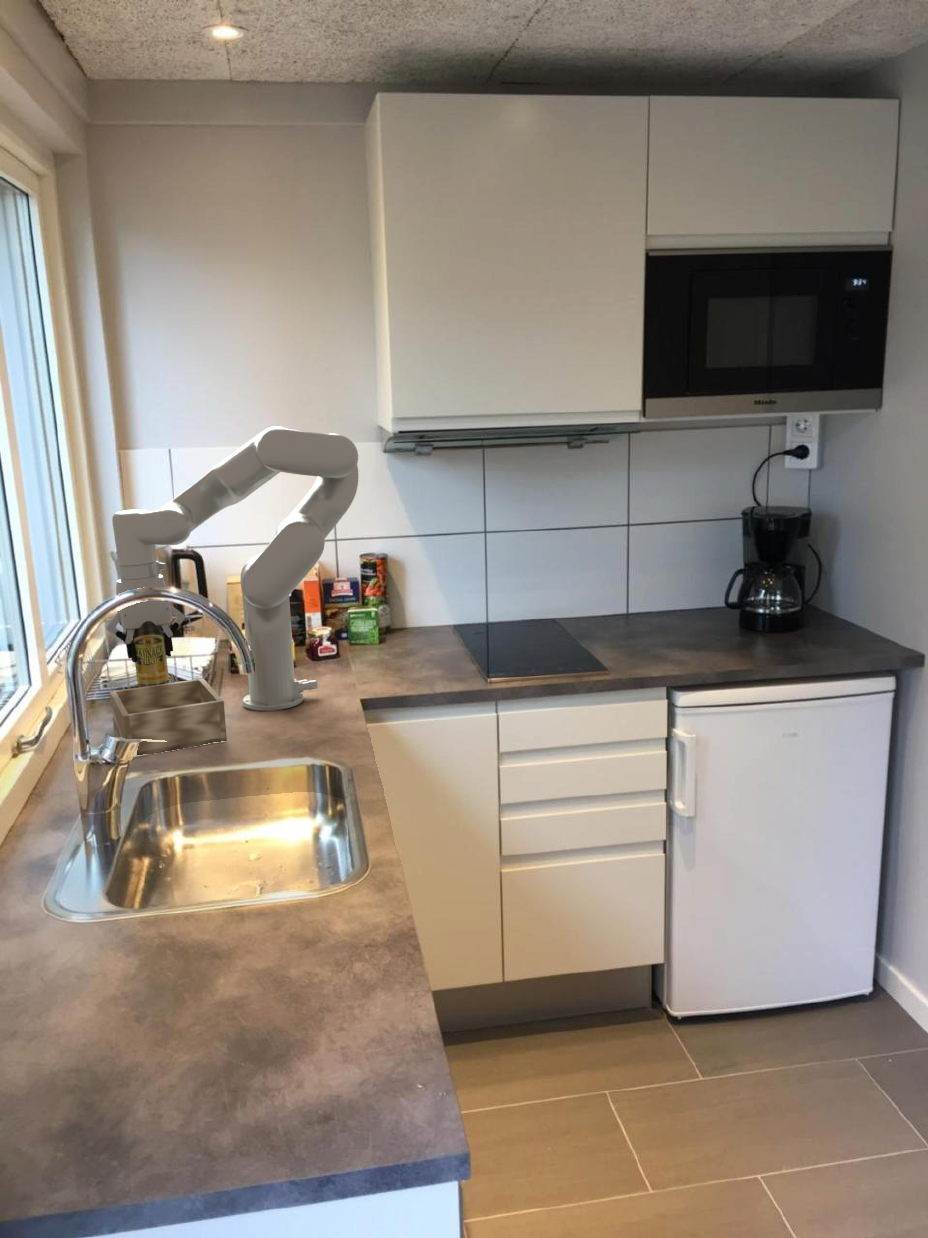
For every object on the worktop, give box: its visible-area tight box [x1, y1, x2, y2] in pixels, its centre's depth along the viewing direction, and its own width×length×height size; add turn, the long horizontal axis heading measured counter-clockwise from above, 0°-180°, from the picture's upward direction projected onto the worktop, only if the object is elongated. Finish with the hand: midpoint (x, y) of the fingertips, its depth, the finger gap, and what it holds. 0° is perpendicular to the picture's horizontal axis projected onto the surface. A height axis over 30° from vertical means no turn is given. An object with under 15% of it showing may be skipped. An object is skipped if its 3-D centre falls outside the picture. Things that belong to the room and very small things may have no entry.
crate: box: [109, 678, 228, 755], centre depth 193 cm, size 18×18×8 cm
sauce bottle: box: [132, 621, 170, 688], centre depth 205 cm, size 6×6×20 cm
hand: (151, 657), depth 206 cm, fingers closed on sauce bottle, 6 cm apart
